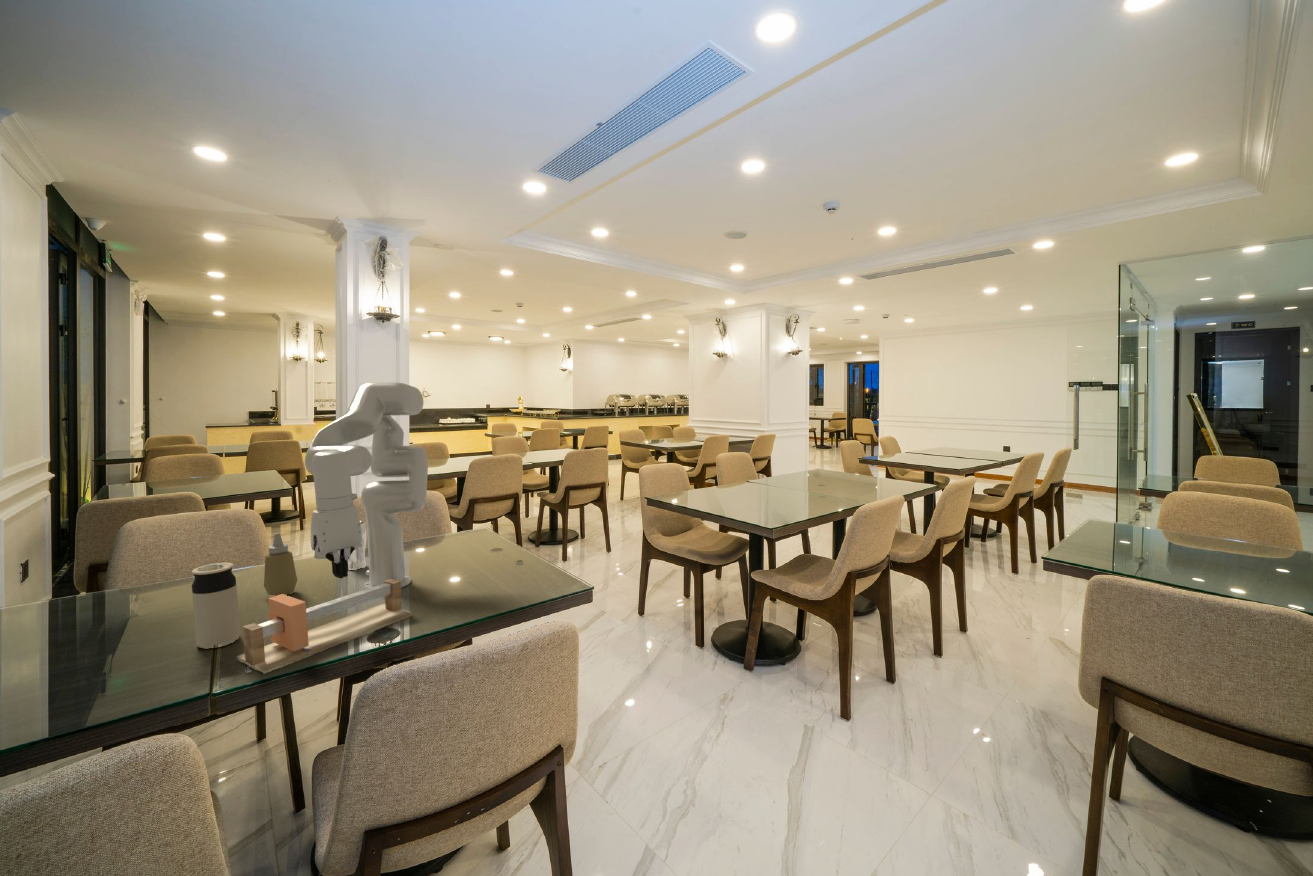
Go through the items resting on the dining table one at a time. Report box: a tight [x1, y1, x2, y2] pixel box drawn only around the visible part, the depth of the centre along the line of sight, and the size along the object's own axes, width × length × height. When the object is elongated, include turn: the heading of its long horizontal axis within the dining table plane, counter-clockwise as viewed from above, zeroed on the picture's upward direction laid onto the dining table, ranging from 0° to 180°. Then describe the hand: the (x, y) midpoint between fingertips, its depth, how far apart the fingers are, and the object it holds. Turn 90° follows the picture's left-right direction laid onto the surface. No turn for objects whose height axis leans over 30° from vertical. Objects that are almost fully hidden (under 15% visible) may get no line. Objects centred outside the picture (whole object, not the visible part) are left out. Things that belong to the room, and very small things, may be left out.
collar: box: [267, 594, 309, 651], centre depth 122 cm, size 10×3×10 cm, turn 59°
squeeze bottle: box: [263, 532, 298, 596], centre depth 158 cm, size 8×8×18 cm
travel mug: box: [191, 562, 241, 646], centre depth 127 cm, size 8×8×18 cm
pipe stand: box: [236, 579, 412, 671], centre depth 130 cm, size 12×34×8 cm, turn 149°
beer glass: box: [348, 520, 368, 571], centre depth 182 cm, size 7×7×15 cm
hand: (341, 576), depth 133 cm, fingers closed
